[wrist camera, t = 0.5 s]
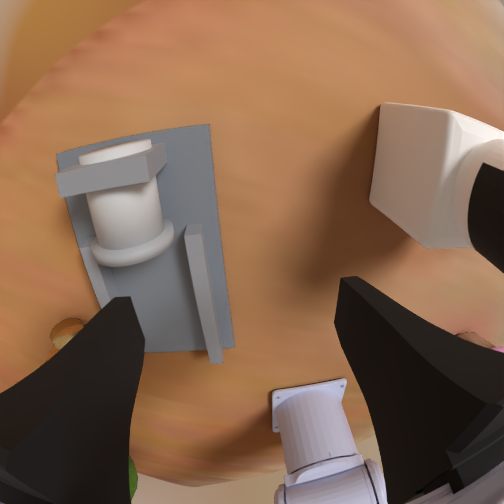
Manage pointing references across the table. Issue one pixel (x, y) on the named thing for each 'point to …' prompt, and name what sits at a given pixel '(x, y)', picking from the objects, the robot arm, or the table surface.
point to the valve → (64, 334)
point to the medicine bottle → (441, 178)
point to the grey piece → (153, 234)
